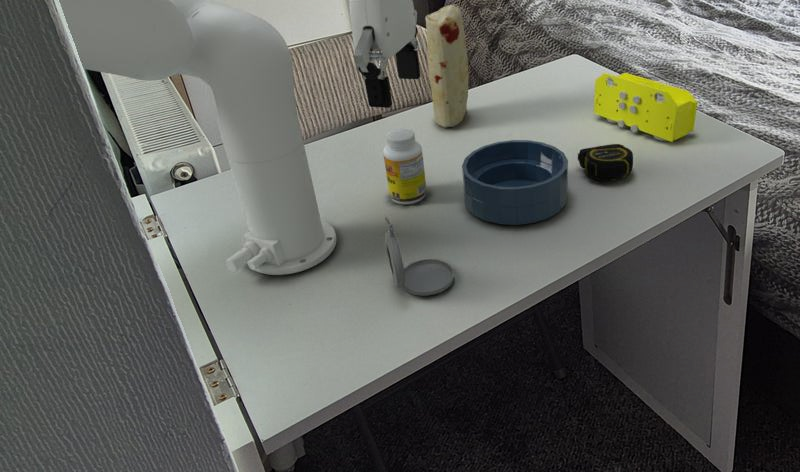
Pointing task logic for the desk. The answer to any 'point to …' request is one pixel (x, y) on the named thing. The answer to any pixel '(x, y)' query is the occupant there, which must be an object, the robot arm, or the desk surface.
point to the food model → (447, 65)
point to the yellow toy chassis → (645, 105)
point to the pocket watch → (417, 270)
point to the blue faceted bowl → (515, 182)
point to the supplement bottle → (404, 167)
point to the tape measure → (606, 161)
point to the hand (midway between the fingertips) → (395, 91)
